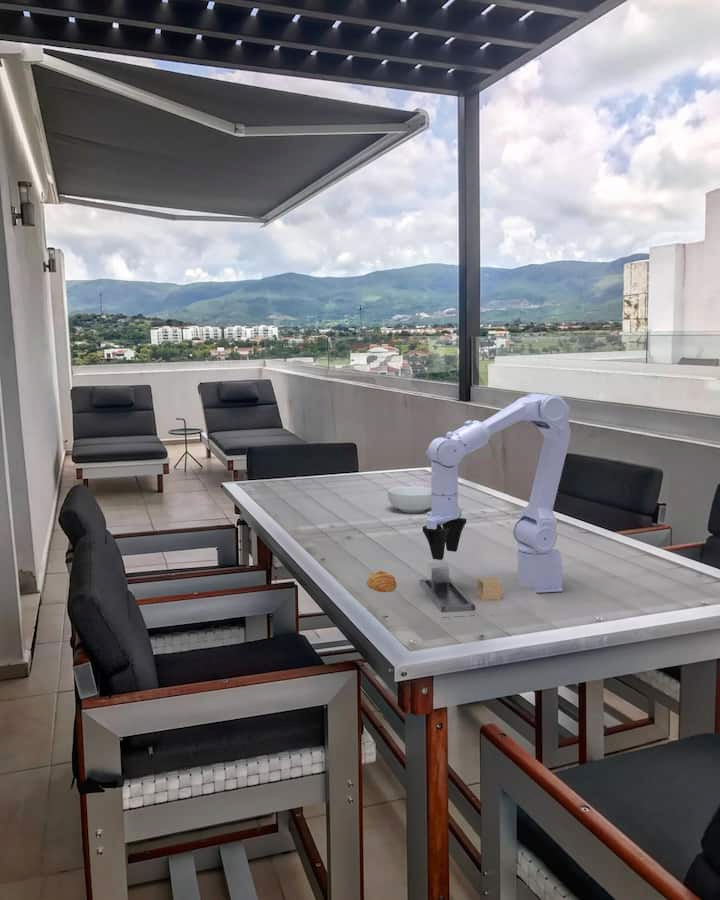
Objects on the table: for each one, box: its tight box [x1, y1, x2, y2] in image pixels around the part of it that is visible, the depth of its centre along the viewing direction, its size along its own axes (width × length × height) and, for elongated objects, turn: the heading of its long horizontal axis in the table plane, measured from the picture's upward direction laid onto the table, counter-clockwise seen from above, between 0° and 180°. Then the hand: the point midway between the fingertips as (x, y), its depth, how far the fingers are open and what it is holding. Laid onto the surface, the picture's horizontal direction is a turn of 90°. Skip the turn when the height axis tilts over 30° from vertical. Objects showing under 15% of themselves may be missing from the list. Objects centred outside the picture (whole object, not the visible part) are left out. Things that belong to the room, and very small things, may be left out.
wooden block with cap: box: [477, 576, 502, 601], centre depth 176 cm, size 4×6×5 cm
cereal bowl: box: [387, 485, 432, 514], centre depth 274 cm, size 17×17×7 cm
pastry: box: [366, 570, 398, 593], centre depth 184 cm, size 9×7×4 cm
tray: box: [419, 577, 476, 619], centre depth 176 cm, size 7×20×2 cm, turn 9°
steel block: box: [426, 562, 450, 592], centre depth 182 cm, size 4×6×5 cm
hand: (444, 555), depth 178 cm, fingers open, 7 cm apart
